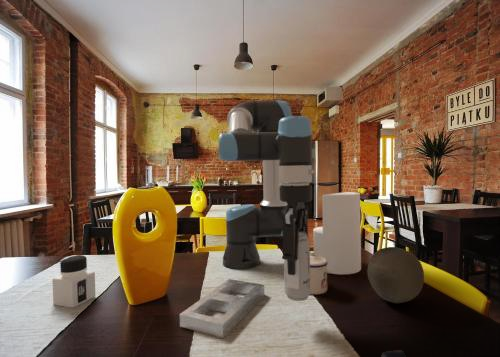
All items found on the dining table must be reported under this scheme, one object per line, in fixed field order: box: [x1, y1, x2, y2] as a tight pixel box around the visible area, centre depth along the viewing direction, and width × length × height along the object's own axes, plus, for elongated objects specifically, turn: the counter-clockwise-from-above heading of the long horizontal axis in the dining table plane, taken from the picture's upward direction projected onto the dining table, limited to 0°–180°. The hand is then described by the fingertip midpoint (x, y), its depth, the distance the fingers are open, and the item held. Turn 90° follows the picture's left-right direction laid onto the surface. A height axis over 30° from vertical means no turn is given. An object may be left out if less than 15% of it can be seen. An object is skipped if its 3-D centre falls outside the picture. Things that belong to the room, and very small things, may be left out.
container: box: [52, 254, 96, 309], centre depth 83 cm, size 8×8×13 cm
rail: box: [179, 278, 265, 339], centre depth 76 cm, size 24×12×3 cm, turn 155°
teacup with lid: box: [310, 250, 328, 295], centre depth 88 cm, size 12×9×12 cm
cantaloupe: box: [366, 246, 425, 304], centre depth 77 cm, size 14×14×15 cm
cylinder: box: [312, 191, 362, 275], centre depth 107 cm, size 17×17×28 cm
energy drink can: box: [283, 231, 311, 302], centre depth 66 cm, size 6×6×15 cm
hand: (297, 281), depth 66 cm, fingers closed on energy drink can, 6 cm apart
